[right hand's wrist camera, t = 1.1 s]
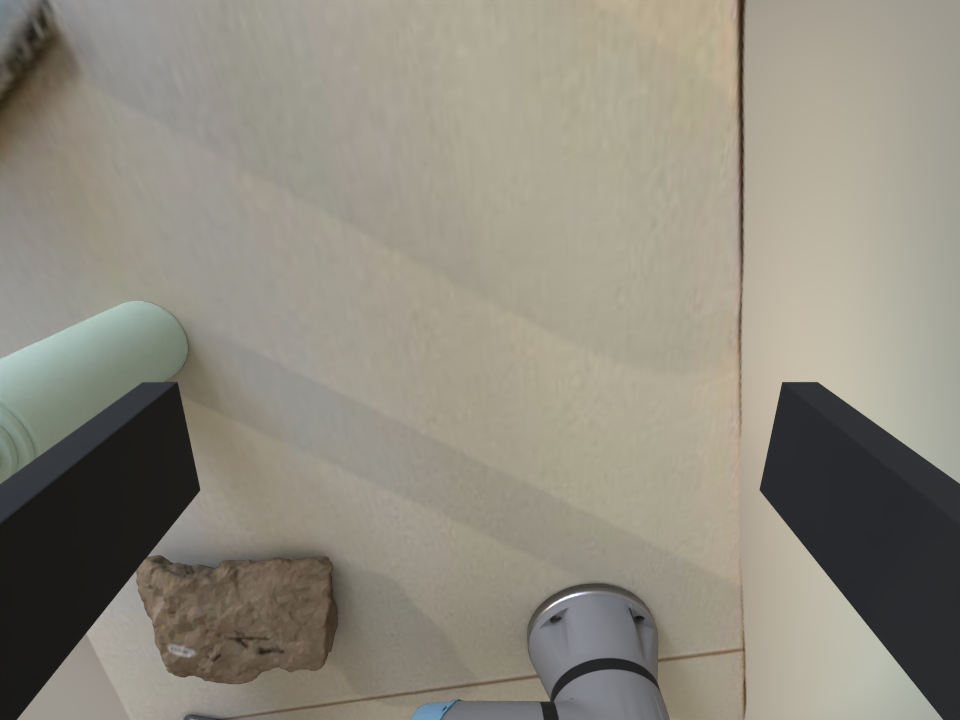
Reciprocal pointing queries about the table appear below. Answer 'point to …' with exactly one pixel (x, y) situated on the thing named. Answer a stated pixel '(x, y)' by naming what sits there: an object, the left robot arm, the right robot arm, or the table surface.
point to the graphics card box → (196, 718)
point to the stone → (240, 616)
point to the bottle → (82, 376)
